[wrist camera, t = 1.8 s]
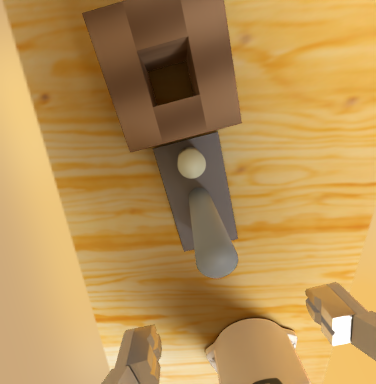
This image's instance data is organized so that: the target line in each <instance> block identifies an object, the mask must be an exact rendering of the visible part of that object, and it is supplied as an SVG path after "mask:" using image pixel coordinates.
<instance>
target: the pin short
mask: <svg viewBox="0 0 376 384" xmlns="http://www.w3.org/2000/svg"><path fill="white" fill-rule="evenodd" d="M205 167H206V161H205V158H204V156H203V155H202V154H201V153H200V152H199V151H198V150H197V149H196V148H194V147H186V148H184V149H182V150H181V151H180V153H179V155H178V170H179V172H180V173H181V174H182V175H183V176H184V177H186V178H191V179H192V178H197V177H199V176H200V175H202V173H203V172H204V170H205Z"/></svg>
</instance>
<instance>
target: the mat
mask: <svg viewBox="0 0 376 384" xmlns="http://www.w3.org/2000/svg"><path fill="white" fill-rule="evenodd" d="M186 147H194V148H196V149H197V150H198V151H199V152H200V153H201V154H202V155H203V156H204V158H205V161H206V167H205V170H204V172H203V173H202V175H200V176H199V177H197V178H192V179H191V178H186V177H184V176H183V175H182V174H181V173H180V172H179V170H178V155H179V153H180V151H181V150H182V149H184V148H186ZM153 151H154V154H155V157H156V160H157V164H158V167H159V170H160V174H161V177H162V180H163V183H164V187H165V190H166V193H167V197H168V200H169V203H170V206H171V210H172V213H173V216H174V219H175V223H176V226H177V229H178V233H179V236H180V239H181V242H182V246H183V249H184V251H188V250H193V249H194V240H193V232H192V223H191V215H190V206H189V194H190V192H191V191H192V190H193V189H195V188H204V189H206V190H207V191H208V192H209V194H210V196H211V199H212V201H213V203H214V205H215V207H216V209H217V212H218V214H219V216H220V218H221V220H222V222H223V225H224V227H225V229H226V231H227V233H228V235H229V238H230V240H235V239H238V237H237V231H236V226H235V221H234V215H233V210H232V204H231V199H230V194H229V188H228V183H227V178H226V172H225V167H224V162H223V156H222V151H221V146H220V140H219V135H218V132H215V133H211V134H207V135H204V136H200V137H196V138H192V139H188V140H184V141H181V142H177V143H173V144H169V145H165V146H162V147H158V148H154V149H153Z"/></svg>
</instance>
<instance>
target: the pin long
mask: <svg viewBox="0 0 376 384" xmlns="http://www.w3.org/2000/svg"><path fill="white" fill-rule="evenodd" d="M189 206H190V215H191V223H192V232H193V240H194V249H195V258H196V265H197V268H198V270H199V271H200V272H201V273H202V274H203V275H205V276H207V277H210V278H220V277H224V276H226V275H228V274H230V273H231V272H232V271H233V270H234V269H235V268H236V266H237V263H238V255H237V253H236V250H235V248H234V246H233V244H232V242H231V240H230V238H229V235H228V233H227V231H226V229H225V227H224V225H223V222H222V220H221V218H220V216H219V214H218V212H217V209H216V207H215V205H214V203H213V201H212V199H211V196H210V194H209V192H208V191H207V190H206V189H204V188H195V189H193V190H192V191H191V192H190V194H189Z"/></svg>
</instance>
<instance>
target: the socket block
mask: <svg viewBox="0 0 376 384" xmlns="http://www.w3.org/2000/svg"><path fill="white" fill-rule="evenodd" d="M82 14H83V17H84V20H85V23H86V26H87V29H88V32H89V35H90V37H91V40H92V43H93V46H94V49H95V52H96V55H97V58H98V61H99V64H100V66H101V69H102V72H103V75H104V78H105V81H106V84H107V87H108V90H109V92H110V95H111V98H112V101H113V104H114V107H115V110H116V113H117V116H118V118H119V121H120V124H121V127H122V130H123V133H124V136H125V139H126V142H127V144H128V147H129V150H130V152H134V151H137V150H141V149H145V148H149V147H153V146H157V145H160V144H164V143H168V142H172V141H176V140H179V139H183V138H187V137H191V136H195V135H198V134H202V133H206V132H210V131H214V130H217V129H221V128H225V127H229V126H233V125H237V124H240V123H242V122H241V115H240V108H239V101H238V94H237V87H236V80H235V74H234V67H233V60H232V53H231V46H230V39H229V32H228V25H227V19H226V12H225V5H224V0H125V1H122V2H119V3H115V4H112V5H108V6H105V7H102V8H98V9H95V10H92V11H88V12H85V13H82ZM184 61H186V63H187V67H188V72H189V77H190V81H191V86H192V91H193V95H194V96H192V97H189V98H185V99H181V100H178V101H174V102H170V103H167V104H163V105H159V106H157V103H156V99H155V95H154V92H153V88H152V85H151V81H150V77H149V74H148V72H149V71H152V70H156V69H159V68H163V67H166V66H170V65H174V64H177V63H181V62H184Z"/></svg>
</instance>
